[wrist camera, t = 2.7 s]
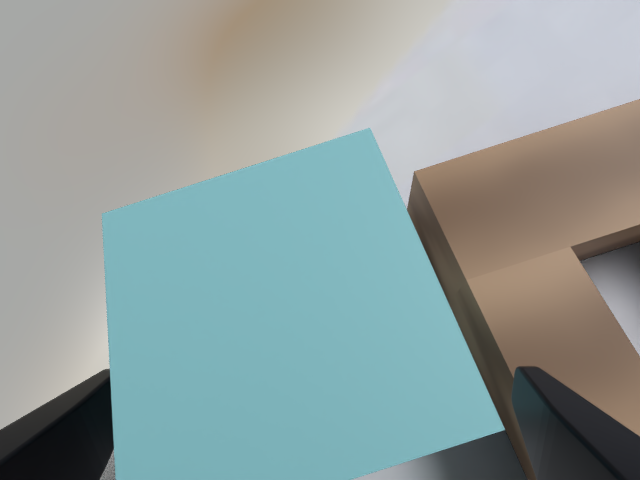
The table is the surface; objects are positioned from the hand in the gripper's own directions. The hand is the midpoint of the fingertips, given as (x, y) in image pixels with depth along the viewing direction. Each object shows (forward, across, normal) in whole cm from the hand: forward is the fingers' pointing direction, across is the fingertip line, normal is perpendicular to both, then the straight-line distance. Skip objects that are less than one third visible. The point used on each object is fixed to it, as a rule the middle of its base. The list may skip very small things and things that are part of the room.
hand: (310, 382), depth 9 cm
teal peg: (+6, 0, +5) cm, 8 cm away
